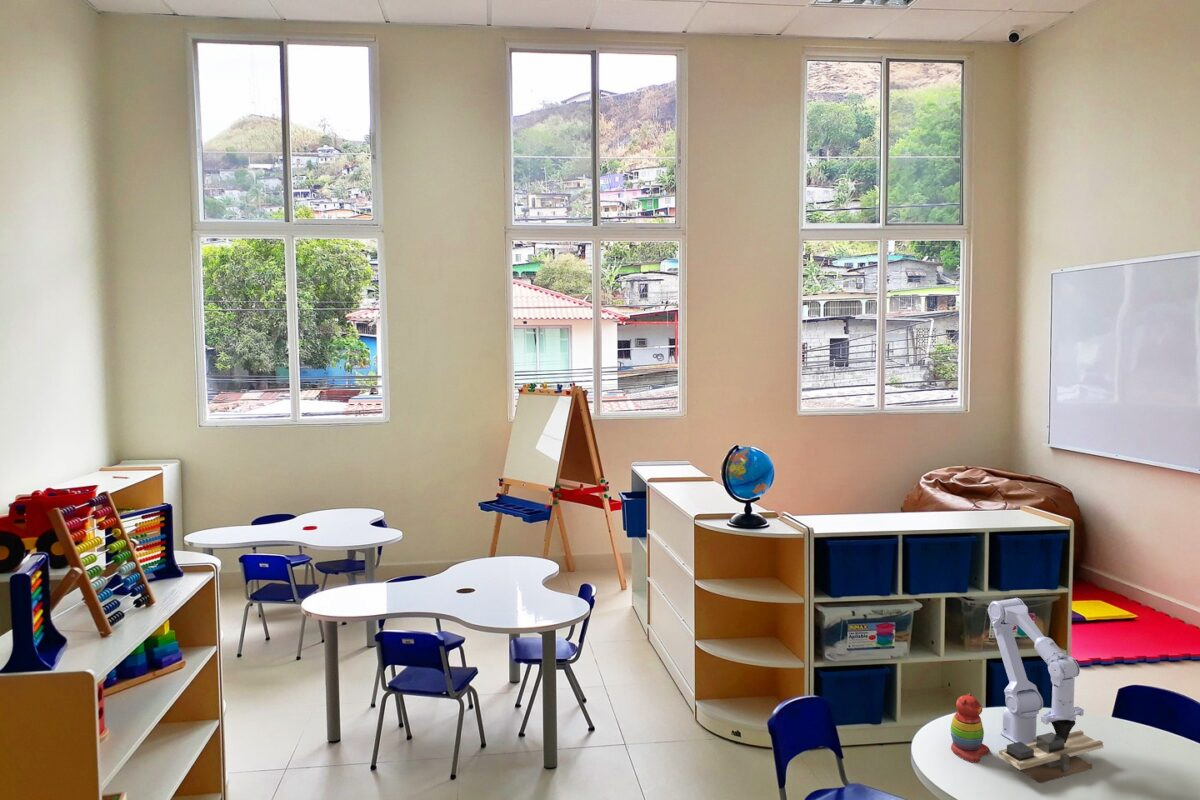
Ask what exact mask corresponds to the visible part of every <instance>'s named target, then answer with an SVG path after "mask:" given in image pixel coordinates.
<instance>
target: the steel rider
mask: <svg viewBox="0 0 1200 800" xmlns="http://www.w3.org/2000/svg"><path fill="white" fill-rule="evenodd" d="M1036 738H1037V743H1036V747H1037V748H1039V749H1040V750H1042V751H1044V752H1045V753H1047V754H1049V753H1053V752H1057V751H1061V750H1064V740H1065V739H1064V738H1062V737H1060V736H1058V735H1056V733H1054V732H1052V731H1051V732H1048V733H1047V732H1046V733H1044V734H1039V735H1036Z"/></svg>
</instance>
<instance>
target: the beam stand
mask: <svg viewBox="0 0 1200 800" xmlns="http://www.w3.org/2000/svg"><path fill="white" fill-rule="evenodd" d="M1034 742H1037V739H1034ZM1009 765H1010V766H1011V767H1014V768H1015V769H1017V770H1018V771H1020V772H1021V773H1022V774H1025V775H1026V776H1028V777H1029V778H1031V779H1033V780H1034V781H1035V782H1037V783H1039V784H1042V783H1046V782H1048V781H1049V782H1050V781H1053V780H1057V779H1061V778H1064V777H1066V776H1067V775H1068V776H1070V775H1074V774H1077V773H1078V774H1079V773H1082V772H1085V771H1088V770H1092V769H1093V764H1092V763H1089V762H1088V761H1087V760H1084V759H1083V758H1081V757H1080V756H1077V755H1075V756H1071V757H1070V756H1069V755H1068V754H1063V755H1061V759H1060V760H1056V761H1052V762H1048V763H1044V764H1041V765H1037V766H1033V767H1029V768H1025V769H1022V770H1019V769H1018V768H1016V767H1015V766H1013V765H1011V764H1010V763H1009ZM1063 776H1064V777H1063ZM1060 777H1061V778H1060Z"/></svg>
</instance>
